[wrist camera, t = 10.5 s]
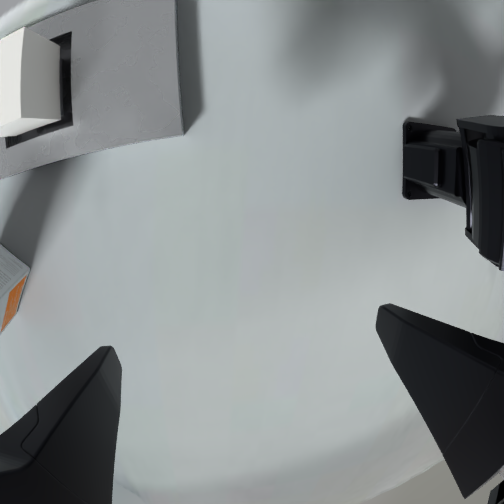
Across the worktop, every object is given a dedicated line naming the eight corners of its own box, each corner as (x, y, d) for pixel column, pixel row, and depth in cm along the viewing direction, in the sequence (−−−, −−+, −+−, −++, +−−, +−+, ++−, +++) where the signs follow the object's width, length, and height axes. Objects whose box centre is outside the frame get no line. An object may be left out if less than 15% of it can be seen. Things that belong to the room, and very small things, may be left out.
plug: (68, 51, 14) (24, 26, 8) (70, 120, 16) (21, 117, 10) (25, 68, 14) (-25, 55, 8) (26, 135, 16) (-27, 140, 10)
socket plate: (176, -5, 14) (174, -17, 12) (184, 135, 18) (182, 134, 16) (-7, 57, 12) (-20, 54, 10) (-2, 180, 16) (-16, 185, 15)
